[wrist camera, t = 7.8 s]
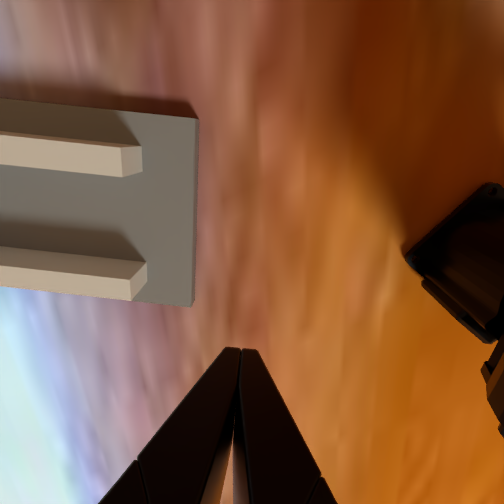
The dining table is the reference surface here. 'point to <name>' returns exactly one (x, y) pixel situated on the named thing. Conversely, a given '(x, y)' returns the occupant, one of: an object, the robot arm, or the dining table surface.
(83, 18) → the dining table surface
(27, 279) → the station
